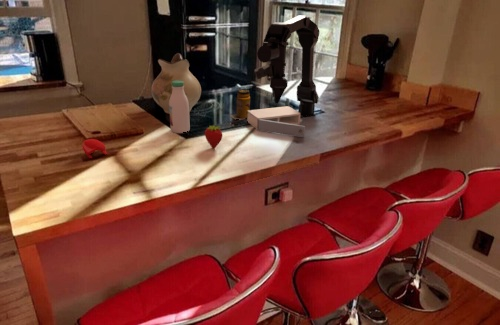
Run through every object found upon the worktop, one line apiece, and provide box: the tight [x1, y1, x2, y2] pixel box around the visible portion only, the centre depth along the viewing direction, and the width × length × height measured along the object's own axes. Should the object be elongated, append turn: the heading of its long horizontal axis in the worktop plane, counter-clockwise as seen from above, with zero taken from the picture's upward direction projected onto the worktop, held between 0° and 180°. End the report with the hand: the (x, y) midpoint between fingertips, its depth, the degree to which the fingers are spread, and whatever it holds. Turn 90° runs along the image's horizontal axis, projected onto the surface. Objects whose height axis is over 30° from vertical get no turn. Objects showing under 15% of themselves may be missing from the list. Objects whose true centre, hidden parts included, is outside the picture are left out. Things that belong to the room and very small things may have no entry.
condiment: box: [229, 89, 251, 121], centre depth 168 cm, size 7×8×12 cm
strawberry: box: [204, 122, 223, 149], centre depth 135 cm, size 6×8×10 cm
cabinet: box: [246, 105, 301, 130], centre depth 163 cm, size 20×11×5 cm, turn 113°
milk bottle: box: [169, 81, 191, 134], centre depth 149 cm, size 8×8×20 cm
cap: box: [81, 138, 108, 159], centre depth 128 cm, size 8×6×6 cm
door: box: [256, 119, 306, 138], centre depth 150 cm, size 20×2×5 cm, turn 68°
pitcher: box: [151, 52, 202, 115], centre depth 172 cm, size 22×24×25 cm
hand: (275, 100), depth 146 cm, fingers open, 9 cm apart
